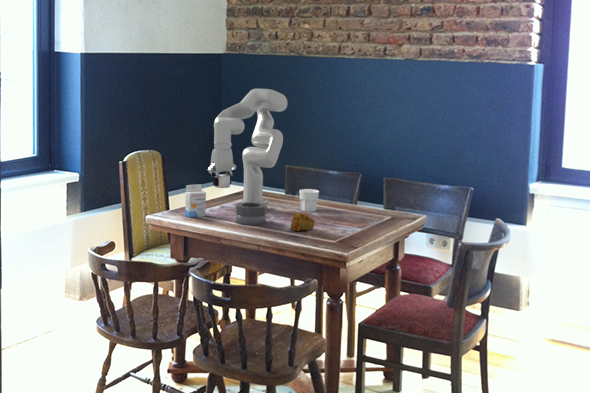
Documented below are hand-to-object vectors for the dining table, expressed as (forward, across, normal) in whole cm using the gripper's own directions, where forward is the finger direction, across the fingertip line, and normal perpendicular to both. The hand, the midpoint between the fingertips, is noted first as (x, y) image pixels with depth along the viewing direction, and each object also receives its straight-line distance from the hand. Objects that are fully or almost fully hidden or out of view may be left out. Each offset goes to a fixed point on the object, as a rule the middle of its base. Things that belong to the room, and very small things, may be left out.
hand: (222, 184), depth 303 cm
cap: (+1, 0, 0) cm, 1 cm away
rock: (+17, -16, +36) cm, 43 cm away
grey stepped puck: (+17, -8, +11) cm, 22 cm away
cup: (+18, -50, +8) cm, 54 cm away
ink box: (+17, +5, -14) cm, 22 cm away
